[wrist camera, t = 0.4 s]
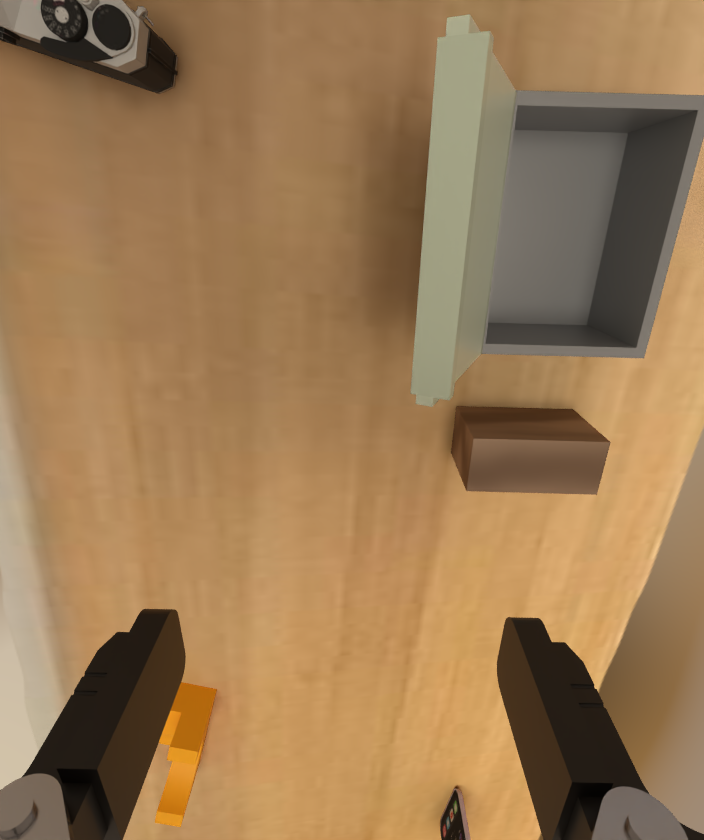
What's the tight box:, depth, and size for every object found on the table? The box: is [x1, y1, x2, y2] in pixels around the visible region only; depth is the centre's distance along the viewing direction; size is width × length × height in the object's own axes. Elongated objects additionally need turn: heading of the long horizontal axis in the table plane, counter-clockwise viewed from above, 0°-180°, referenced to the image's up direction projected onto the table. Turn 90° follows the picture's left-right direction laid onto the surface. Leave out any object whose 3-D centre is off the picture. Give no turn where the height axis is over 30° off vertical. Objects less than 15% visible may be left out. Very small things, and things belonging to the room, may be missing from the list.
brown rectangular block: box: [451, 406, 610, 495], centre depth 35 cm, size 4×9×6 cm, turn 89°
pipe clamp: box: [155, 682, 217, 827], centre depth 48 cm, size 12×4×6 cm, turn 165°
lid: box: [411, 14, 517, 407], centre depth 20 cm, size 13×11×2 cm
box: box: [481, 90, 704, 358], centre depth 29 cm, size 13×10×7 cm
